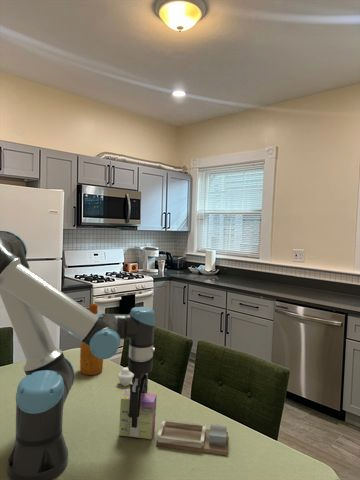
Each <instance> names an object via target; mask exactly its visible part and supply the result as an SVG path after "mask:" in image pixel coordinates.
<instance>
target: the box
mask: <svg viewBox="0 0 360 480" xmlns="http://www.w3.org/2000/svg"><path fill="white" fill-rule="evenodd" d="M157 400H158V399H157V393H150V392H149V393H148V392H147V393H141V401H140V411H139V415H140V428H139V437H136V438H138V439H146V440H152V439H153V437H154V433H155V428H156V416H157V415H156V413H157ZM129 404H130V390H125V391H124V393H123V395H122V397H121V398H120V407H119V408H120V409H119V410H120V411H119V425H118V426H119V428H118V436H121V437H128V438H129V437H130V438H134V437H133V436H130V423H131V417H129V416H128V414H129Z"/></svg>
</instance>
